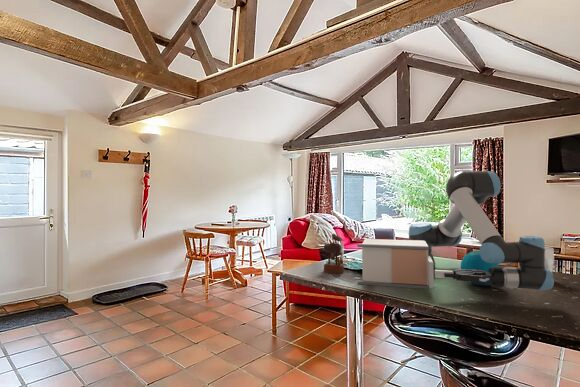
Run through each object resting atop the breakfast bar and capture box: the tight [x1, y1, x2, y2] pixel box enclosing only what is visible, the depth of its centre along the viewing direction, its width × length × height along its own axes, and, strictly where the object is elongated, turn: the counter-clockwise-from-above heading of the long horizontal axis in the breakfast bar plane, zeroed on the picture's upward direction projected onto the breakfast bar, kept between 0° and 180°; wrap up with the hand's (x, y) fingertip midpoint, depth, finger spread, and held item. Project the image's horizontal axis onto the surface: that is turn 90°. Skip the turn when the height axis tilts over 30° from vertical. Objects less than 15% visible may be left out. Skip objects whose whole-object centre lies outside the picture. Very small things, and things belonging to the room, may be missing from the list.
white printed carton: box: [545, 246, 555, 273], centre depth 154 cm, size 7×7×15 cm
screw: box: [339, 241, 347, 263], centre depth 193 cm, size 13×5×5 cm
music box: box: [318, 233, 345, 275], centre depth 176 cm, size 15×11×20 cm
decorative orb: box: [460, 250, 500, 287], centre depth 148 cm, size 15×15×15 cm
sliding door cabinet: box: [356, 238, 430, 290], centre depth 156 cm, size 30×18×18 cm, turn 73°
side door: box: [392, 248, 435, 289], centre depth 140 cm, size 16×14×15 cm
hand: (435, 273), depth 133 cm, fingers closed
